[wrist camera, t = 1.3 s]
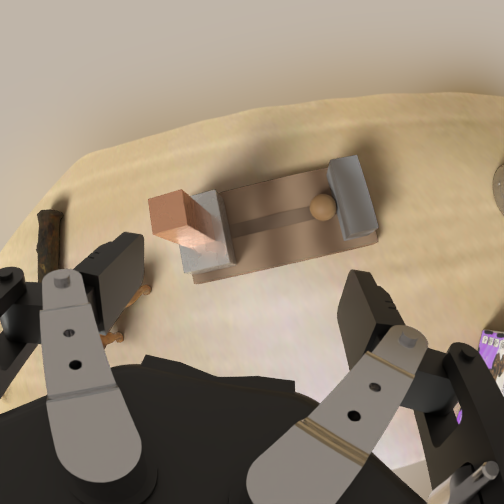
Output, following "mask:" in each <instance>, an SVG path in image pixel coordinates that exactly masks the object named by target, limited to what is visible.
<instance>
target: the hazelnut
mask: <svg viewBox="0 0 504 504" xmlns="http://www.w3.org/2000/svg"><path fill="white" fill-rule="evenodd" d="M310 212H311V214H312V216H313V217H314V218H316V219H317V220H320V221H327V220H329V219H331V218H332V217H333V216H334V215H335V213H336V203H335V201H334V199H333V198H332V197H331V196H329V195H327V194H319V195H317V196H315V197H314V198H313V199H312V200H311V203H310Z"/></svg>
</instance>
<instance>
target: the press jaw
mask: <svg viewBox="0 0 504 504" xmlns="http://www.w3.org/2000/svg"><path fill="white" fill-rule="evenodd" d="M148 203H149V210H150V218H151V225H152V232H153V235H156V236H158V237H161V238H164V239H166V240H169V241H172V242H174V243H177V244H179V247H180V253H181V258H182V264H183V269H184V273H188V274H195V275H196V274H200V273H205V272H209V271H214V270H218V269H223V268H227V267H232V266H236V265H237V264H236V259H235V254H234V249H233V244H232V239H231V235H230V230H229V225H228V220H227V215H226V210H225V205H224V200H223V198H222V197H221V196H220V195H219V193H218V192H217V191H216V190H211V191H207V192H204V193H200V194H196V195H193V196H189V195H188V194H187V193H185V192H184V191H183V190H182V189H181V190H177V191H174V192H171V193H167V194H164V195H161V196H157V197H154V198H151V199H148Z"/></svg>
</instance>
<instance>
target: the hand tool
mask: <svg viewBox="0 0 504 504" xmlns="http://www.w3.org/2000/svg"><path fill="white" fill-rule="evenodd" d="M37 216H38V221H39V234H38V243H37V249H36V251H37V253H38V282H39V283H42V280H43V278H44V277H45V276H46V275H47V274H48V273H50V272H52V271H55V270H59V267H58V251H59V222H60V219H61V217H63V213H62V212H59V211H56V210H51V209H50V210H41V211H40V212H39V213H38V214H37Z"/></svg>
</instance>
